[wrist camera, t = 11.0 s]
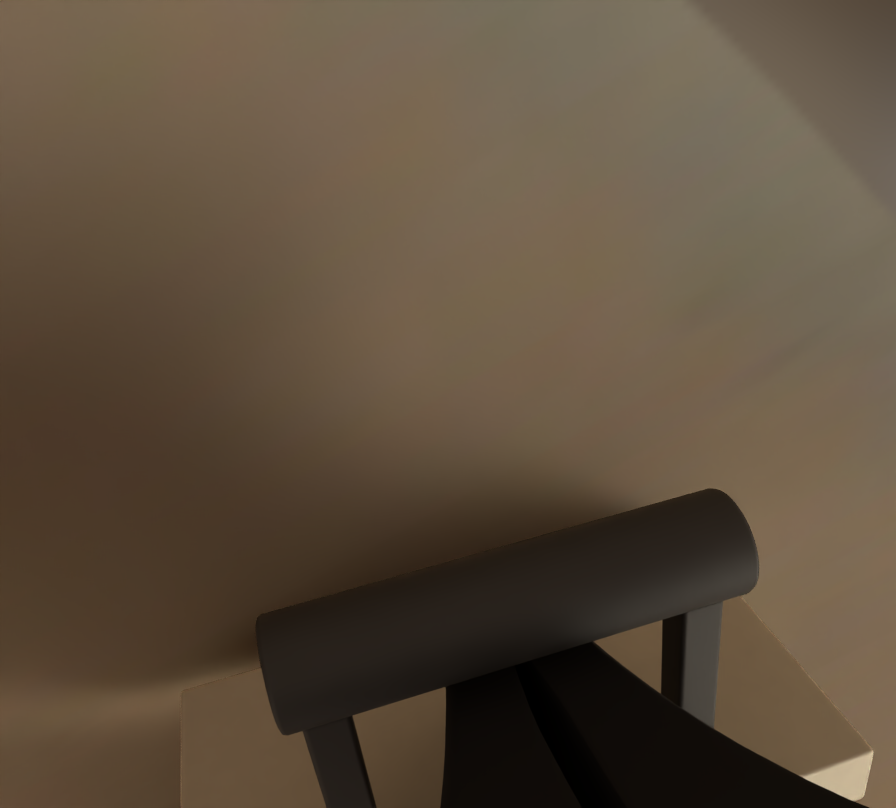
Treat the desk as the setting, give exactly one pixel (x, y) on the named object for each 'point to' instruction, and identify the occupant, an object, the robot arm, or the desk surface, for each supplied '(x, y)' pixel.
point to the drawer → (508, 662)
